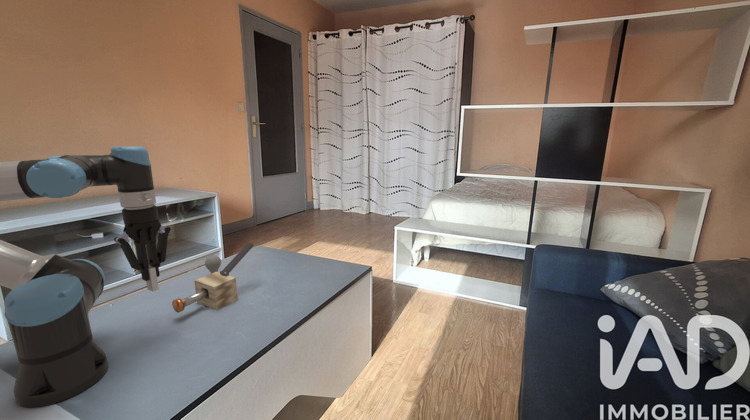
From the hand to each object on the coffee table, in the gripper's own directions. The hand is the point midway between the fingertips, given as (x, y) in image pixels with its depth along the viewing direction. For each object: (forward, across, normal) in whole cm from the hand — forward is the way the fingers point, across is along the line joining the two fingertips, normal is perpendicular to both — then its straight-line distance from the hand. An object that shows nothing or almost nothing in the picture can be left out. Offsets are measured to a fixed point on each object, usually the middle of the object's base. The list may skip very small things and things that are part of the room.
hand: (153, 289), depth 88 cm
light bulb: (+13, +29, +15) cm, 35 cm away
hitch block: (+13, +19, 0) cm, 23 cm away
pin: (+10, +12, 0) cm, 16 cm away
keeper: (+1, +28, 0) cm, 28 cm away
